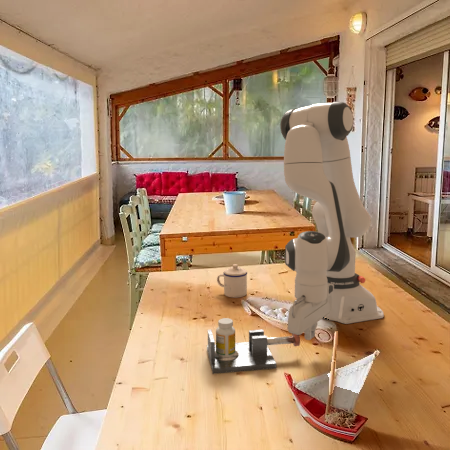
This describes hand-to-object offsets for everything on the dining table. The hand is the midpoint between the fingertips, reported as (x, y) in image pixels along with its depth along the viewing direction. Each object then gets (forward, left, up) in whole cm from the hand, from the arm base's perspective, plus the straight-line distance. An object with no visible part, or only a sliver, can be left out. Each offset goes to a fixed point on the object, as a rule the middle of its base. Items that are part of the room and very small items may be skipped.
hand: (309, 338), depth 138 cm
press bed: (+20, 0, -5) cm, 20 cm away
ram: (+10, 0, -2) cm, 10 cm away
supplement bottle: (+24, -1, -3) cm, 24 cm away
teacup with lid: (+14, -53, -5) cm, 55 cm away
